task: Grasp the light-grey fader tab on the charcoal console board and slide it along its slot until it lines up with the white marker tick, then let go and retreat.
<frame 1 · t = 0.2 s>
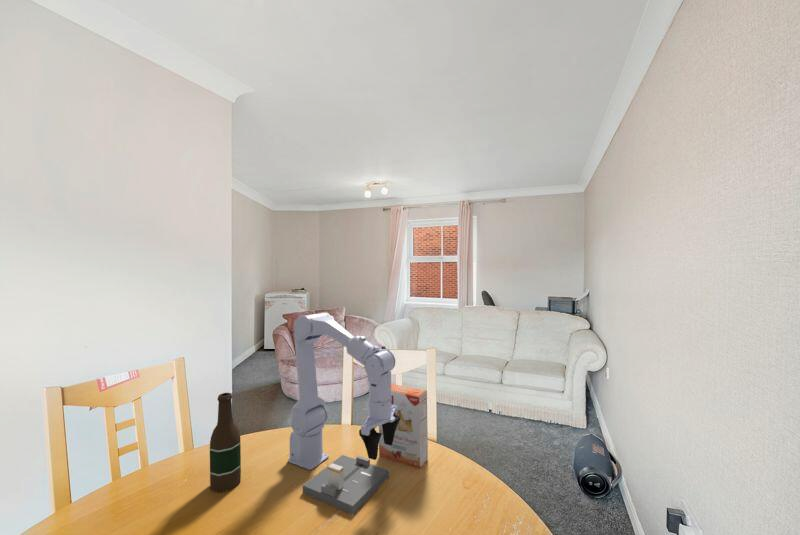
hand: (380, 451, 88), 10 cm above the table, tool pointing down, fingers open, 7 cm apart
console: (347, 484, 90), on the table
beer bottle: (226, 484, 91), on the table
fader tab: (335, 476, 86), point 5 cm above the table, slide at -4.5 cm
cracker box: (403, 459, 102), on the table
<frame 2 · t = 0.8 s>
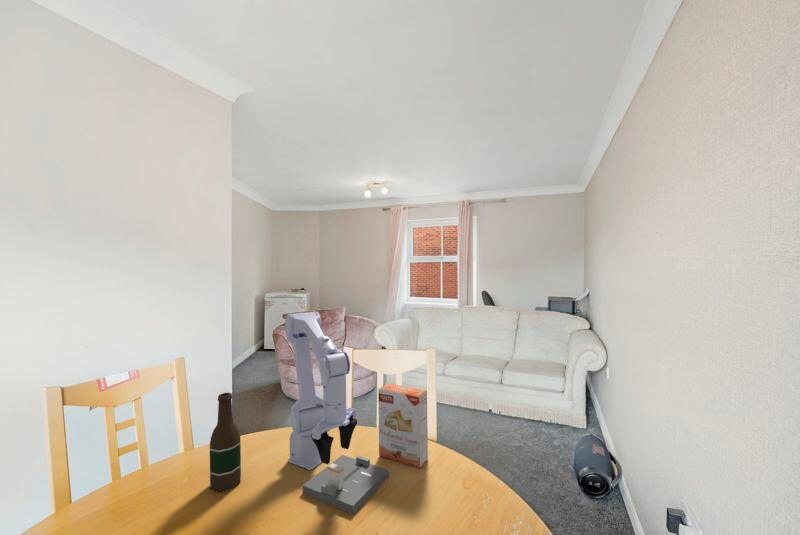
hand: (335, 455, 86), 10 cm above the table, tool pointing down, fingers open, 7 cm apart
nothing on the table moved.
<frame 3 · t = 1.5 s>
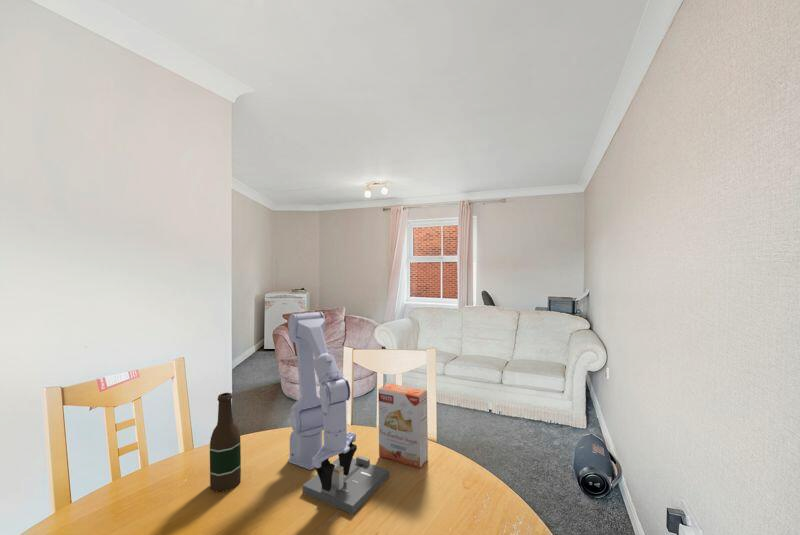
hand: (335, 481, 86), 3 cm above the table, tool pointing down, fingers open, 6 cm apart
nothing on the table moved.
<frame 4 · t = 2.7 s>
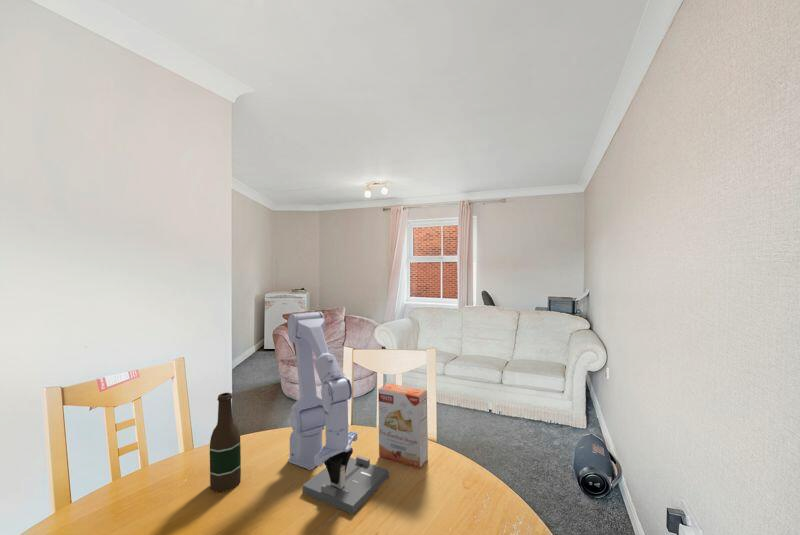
hand: (337, 480, 87), 3 cm above the table, tool pointing down, fingers closed on fader tab, 2 cm apart
fader tab: (337, 475, 87), point 5 cm above the table, slide at -3.9 cm, touching gripper
everything else where it was.
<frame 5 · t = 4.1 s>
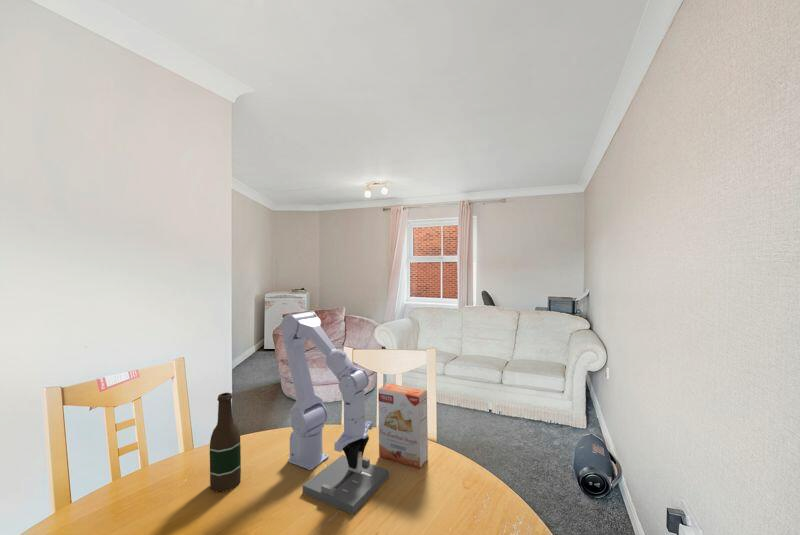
hand: (354, 465, 93), 3 cm above the table, tool pointing down, fingers closed on fader tab, 2 cm apart
fader tab: (354, 460, 93), point 5 cm above the table, slide at 3.5 cm, touching gripper
everything else where it was.
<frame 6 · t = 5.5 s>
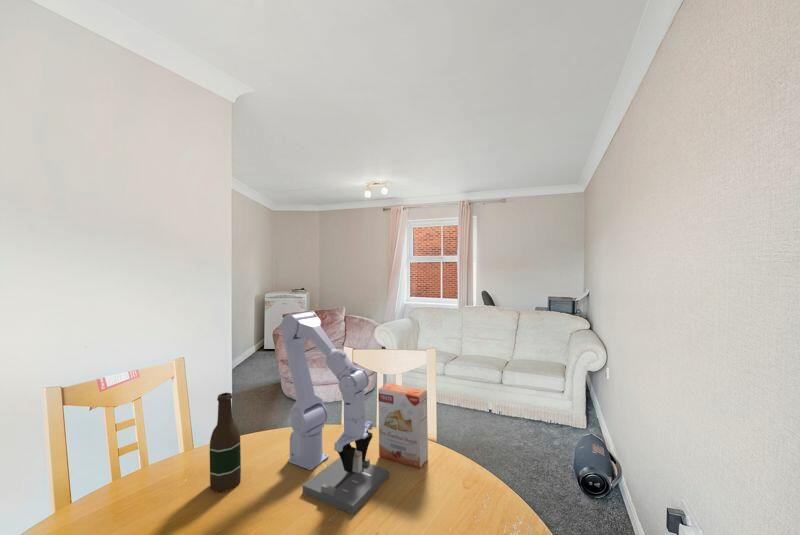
hand: (354, 465, 93), 3 cm above the table, tool pointing down, fingers open, 5 cm apart
fader tab: (354, 460, 93), point 5 cm above the table, slide at 3.5 cm
everything else where it was.
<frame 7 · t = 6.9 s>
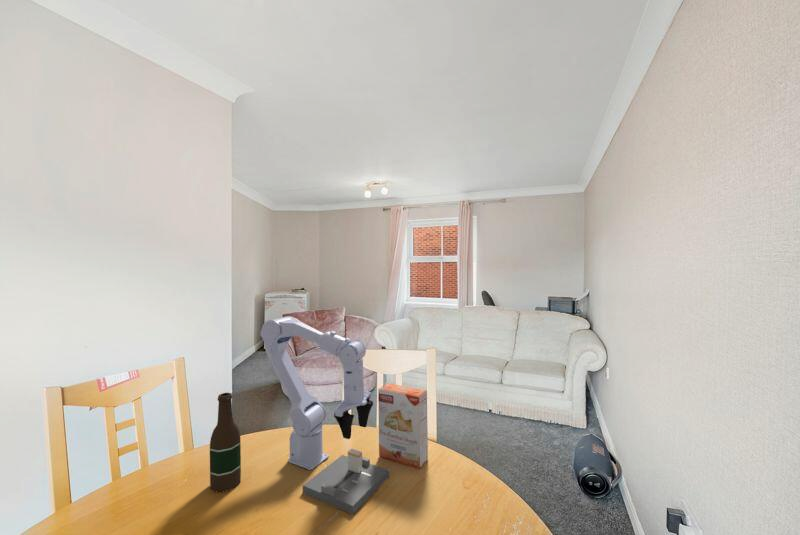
hand: (355, 432, 98), 10 cm above the table, tool pointing down, fingers open, 7 cm apart
nothing on the table moved.
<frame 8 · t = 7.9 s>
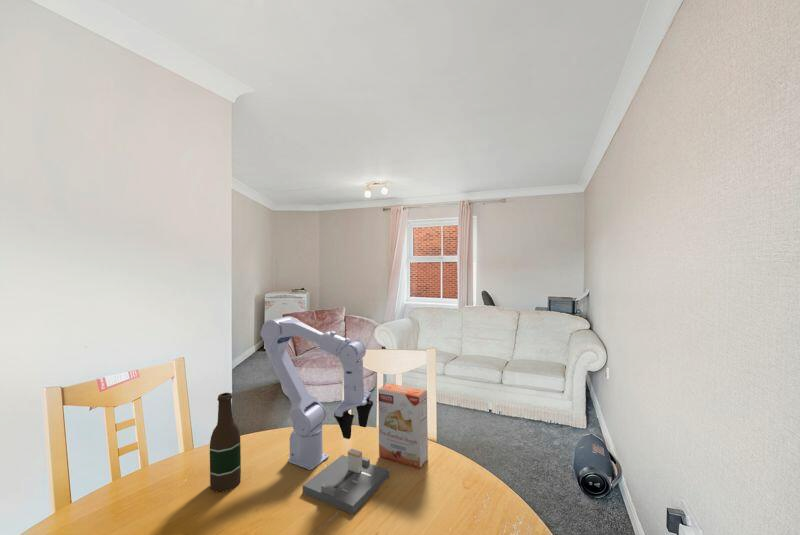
hand: (355, 432, 98), 10 cm above the table, tool pointing down, fingers open, 7 cm apart
nothing on the table moved.
at the end: fader tab slide at 3.5 cm; the gripper is holding nothing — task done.
